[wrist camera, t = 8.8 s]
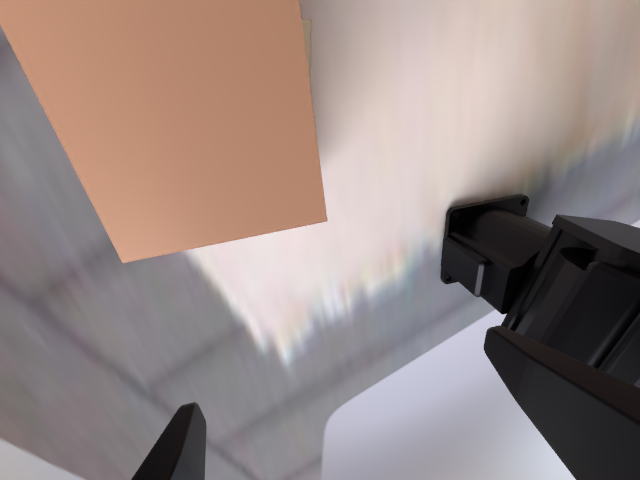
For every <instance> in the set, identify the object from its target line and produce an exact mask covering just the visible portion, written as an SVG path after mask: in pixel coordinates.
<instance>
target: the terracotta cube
mask: <svg viewBox="0 0 640 480" xmlns="http://www.w3.org/2000/svg"><path fill="white" fill-rule="evenodd" d="M0 25H1V27H2V29H3V31H4V33H5V35H6V37H7V39H8V40H9V42H10V44H11V46H12V48H13V50H14V52H15V54H16V56H17V58H18V60H19V62H20V64H21V66H22V68H23V70H24V72H25V74H26V76H27V78H28V79H29V81H30V83H31V85H32V87H33V89H34V91H35V93H36V95H37V97H38V99H39V101H40V103H41V105H42V107H43V109H44V111H45V113H46V115H47V116H48V118H49V120H50V122H51V124H52V126H53V128H54V130H55V132H56V134H57V136H58V138H59V140H60V142H61V144H62V146H63V148H64V150H65V152H66V153H67V155H68V157H69V159H70V161H71V163H72V165H73V167H74V169H75V171H76V173H77V175H78V177H79V179H80V181H81V183H82V185H83V187H84V189H85V190H86V192H87V194H88V196H89V198H90V200H91V202H92V204H93V206H94V208H95V210H96V212H97V214H98V216H99V218H100V220H101V222H102V224H103V226H104V227H105V229H106V231H107V233H108V235H109V237H110V239H111V241H112V243H113V245H114V247H115V249H116V251H117V253H118V255H119V257H120V259H121V261H122V263H125V262H130V261H135V260H140V259H145V258H150V257H155V256H160V255H165V254H169V253H174V252H179V251H184V250H189V249H194V248H199V247H204V246H208V245H213V244H218V243H223V242H228V241H233V240H238V239H243V238H248V237H252V236H257V235H262V234H267V233H272V232H277V231H282V230H287V229H292V228H296V227H301V226H306V225H311V224H316V223H321V222H326V221H327V215H326V207H325V199H324V192H323V184H322V176H321V168H320V160H319V152H318V144H317V137H316V129H315V121H314V113H313V105H312V97H311V89H310V82H309V74H308V66H307V58H306V50H305V42H304V34H303V27H302V19H301V11H300V3H299V0H0Z"/></svg>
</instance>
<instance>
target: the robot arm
mask: <svg viewBox="0 0 640 480" xmlns="http://www.w3.org/2000/svg"><path fill="white" fill-rule="evenodd" d="M521 200H522V201H521ZM528 203H529V198H528V197H527V196H525V195H522V194H520V195H514V196H509V197H504V198H499V199H494V200H488V201H483V202H478V203H473V204H468V205H462V206H457V207H453V208H450V209H449V210H448V211H447V214H446V222H445V234H444V239H443V248H442V259H441V280H442V281H443V282H444V283H445V284H450V283H455V282H460V283H461V284H462V285H463V286H464V287H465V288H466V289H468V290H469V291H470V292H471V293H472V294H473V295H475V296H476V297H480V296H481V297H482V298H483V299H485V300H486V301H487V302H488V303H489V304H490V305H492V306H493V307H494V308H495V309H496V310H498V311H499V312H500V313H501V314H507V315H506V317H505V319H504V321H503V323H502V324H501V326H495V327H491V328H489V329H488V330H487V332H486V337H485V343H484V351H485V353H486V355H487V357H488V358H489V360H490V361H491V363H492V365H493V366H494V368H495V369H496V371H497V372H498V374H499V376H500V377H501V379H502V380H503V382H504V383H505V385H506V387H507V388H508V390H509V391H510V393H511V394H512V396H513V397H514V399H515V400H516V401H517V403H518V404H519V406H520V407H521V408H522V410H523V411H524V412H525V414H526V415H527V416H528V417H529V419H530V420H531V421H532V423H533V424H534V425H535V427H536V428H537V429H538V431H539V432H540V433H541V434H542V436H543V437H544V438H545V440H546V441H547V442H548V444H549V445H550V446H551V447H552V449H553V450H554V451H555V453H556V454H557V455H558V456H559V458H560V459H561V461H562V462H563V463H564V464H565V466H566V467H567V468H568V470H569V471H570V472H571V473H572V475H573V476H574V477H575V479H576V480H640V228H637V227H633V226H630V225H627V224H623V223H620V222H616V221H609V220H600V219H592V218H583V217H575V216H567V215H558V214H557V215H556V217H555V218H554V220H553V222H552V224H553V226H552V228H551V227H549V226H547V225H544V224H542V223H540V222H537V221H535V220H532V219H530V218H528V217H525V216H526V212H527V207H528ZM454 213H455V215H454V216H453V214H454ZM447 277H448V278H447ZM205 451H206V421H205V418H204V416H203V414H202V411H201V409H200V407H199V405H198V404H197V403H196V402H193V403H189V404H185V405H182V406H181V407H180V408H179V409H178V410H177V412H176V413H175V415H174V416H173V418H172V419H171V421H170V422H169V424H168V425H167V427H166V428H165V430H164V431H163V433H162V434H161V436H160V437H159V439H158V440H157V442H156V443H155V445H154V446H153V448H152V449H151V451H150V452H149V454H148V455H147V457H146V458H145V460H144V461H143V463H142V464H141V466H140V467H139V469H138V470H137V472H136V473H135V475H134V476H133V478H132V479H131V480H204V479H205Z"/></svg>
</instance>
